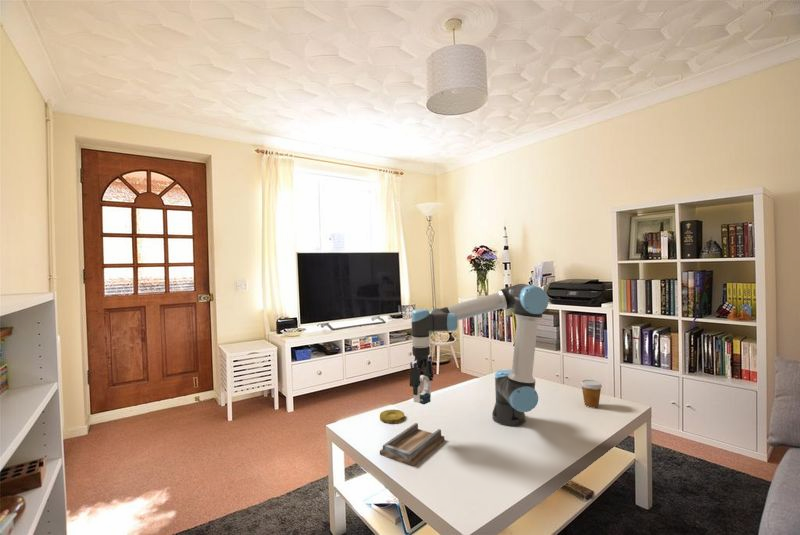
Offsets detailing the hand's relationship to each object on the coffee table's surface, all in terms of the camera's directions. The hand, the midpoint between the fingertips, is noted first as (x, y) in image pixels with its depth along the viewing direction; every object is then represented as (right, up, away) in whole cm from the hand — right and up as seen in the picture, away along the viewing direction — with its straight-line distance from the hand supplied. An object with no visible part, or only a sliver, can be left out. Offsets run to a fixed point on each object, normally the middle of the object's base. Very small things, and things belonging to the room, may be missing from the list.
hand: (422, 398), depth 161 cm
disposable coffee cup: (+88, -14, +30) cm, 94 cm away
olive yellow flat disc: (-13, -18, +22) cm, 31 cm away
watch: (0, -1, 0) cm, 1 cm away
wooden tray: (-4, -18, -6) cm, 19 cm away
